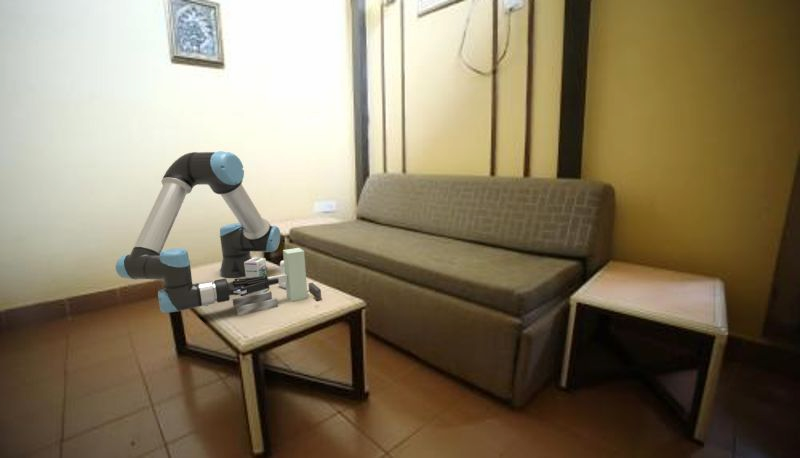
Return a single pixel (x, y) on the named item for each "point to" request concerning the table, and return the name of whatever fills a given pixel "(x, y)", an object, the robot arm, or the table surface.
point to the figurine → (282, 272)
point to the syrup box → (256, 270)
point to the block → (295, 274)
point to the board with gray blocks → (266, 301)
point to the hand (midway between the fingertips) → (286, 278)
